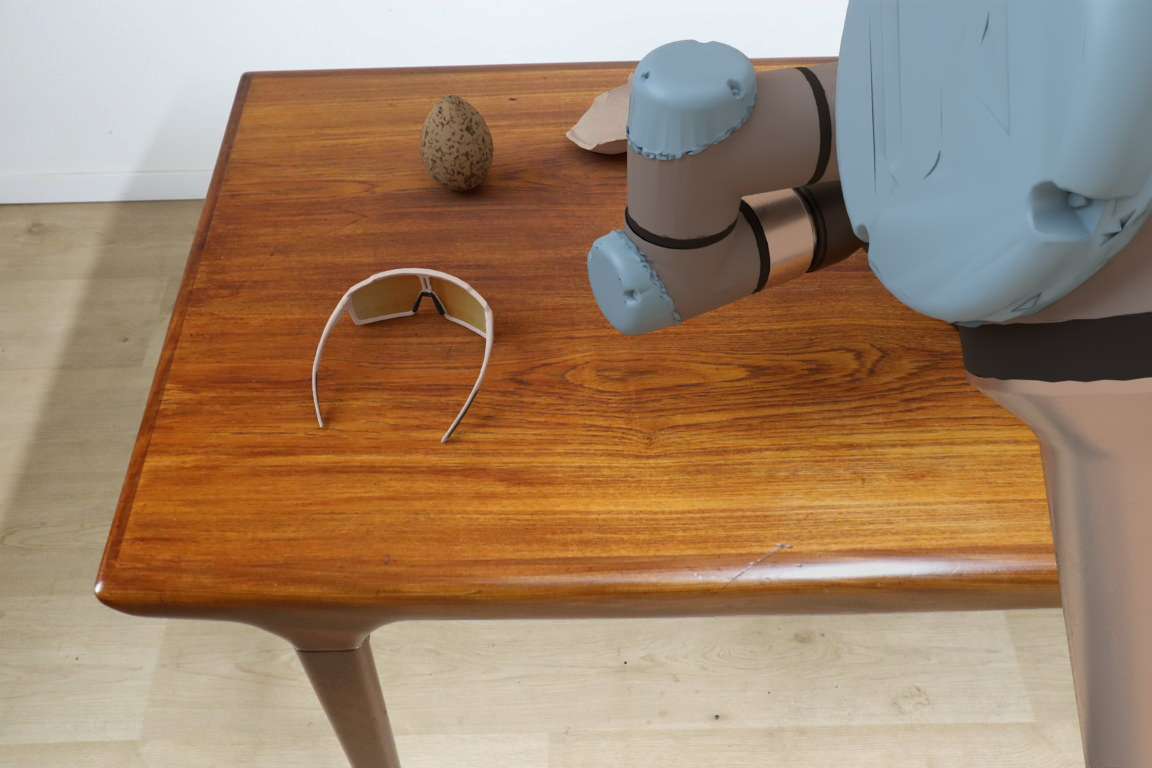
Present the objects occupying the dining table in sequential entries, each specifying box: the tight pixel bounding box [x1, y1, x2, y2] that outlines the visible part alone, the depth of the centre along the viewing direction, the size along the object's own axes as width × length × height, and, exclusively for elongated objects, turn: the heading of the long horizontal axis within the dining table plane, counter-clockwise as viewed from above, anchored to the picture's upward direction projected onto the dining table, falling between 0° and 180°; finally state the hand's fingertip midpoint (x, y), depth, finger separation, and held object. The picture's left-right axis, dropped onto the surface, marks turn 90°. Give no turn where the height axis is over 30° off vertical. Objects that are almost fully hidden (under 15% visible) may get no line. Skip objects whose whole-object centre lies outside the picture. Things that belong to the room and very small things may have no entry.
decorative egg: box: [419, 94, 494, 192], centre depth 93 cm, size 7×7×10 cm
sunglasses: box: [311, 267, 495, 444], centre depth 77 cm, size 14×15×5 cm
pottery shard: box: [565, 71, 635, 155], centre depth 99 cm, size 10×11×5 cm
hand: (1003, 150), depth 77 cm, fingers open, 13 cm apart
